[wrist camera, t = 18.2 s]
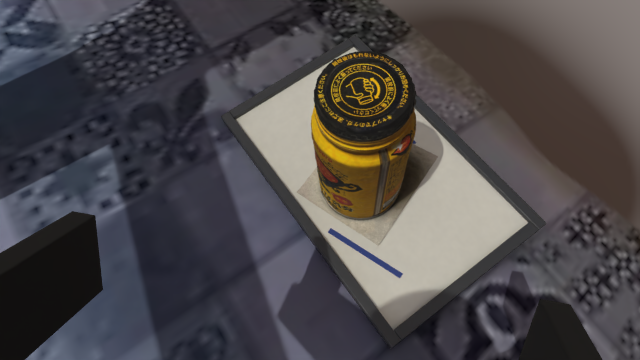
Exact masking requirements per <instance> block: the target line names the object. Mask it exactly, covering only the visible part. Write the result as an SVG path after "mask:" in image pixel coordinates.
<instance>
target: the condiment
mask: <svg viewBox="0 0 640 360" xmlns="http://www.w3.org/2000/svg"><path fill="white" fill-rule="evenodd" d="M415 97H416V91H415V86H414V84H413V82H412V78H411V77H410V75H409V74H408V72H407V71H406V69H405V68H404V66H403V65H402V64H400V63H399V62H398V61H396V60H395V59H393V58H390V57H389V56H387V55H385V54H381V53H377V52H374V51H360V52H352V53H349V54H346V55H344V56H341V57H339V58H337V59H334V60H333V61H332V62H331V63H329V64H328V65H327V66H326V68H324V69H323V70H322V73H321V74H320V75H319V77H318V78H317V82H316V87H315V89H314V98H313V99H314V103H315V104H314V109H313V113H312V116H311V130H312V132H311V135H312V140H313V144H314V150H315V159H316V163H317V167H316V168H315V170H314V171H313V172H312V174H311V175H310V176H309V177H308V178H307V180H306V181H305V183H304V184H303V185H302V186H301V187H300V189H299V190H298V191H297V193H298V194H300V195H301V196H303V197H304V198H306V199H307V200H309V201H310V202H312V203H313V204H315V205H316V206H318V207H319V208H321V209H322V210H324V211H325V212H327V213H328V214H330V215H331V216H333V217H334V218H336V219H338V220H339V221H341V222H342V223H344V224H345V225H347V226H348V227H350V228H351V229H353V230H355V231H356V232H358V233H360V234H361V235H363V236H364V237H366V238H367V239H369V240H370V241H372V242H373V243H375V244H376V245H379V244H380V242H381V241H382V239H383V238H384V237H385V235H386V234H387V232H388V231H389V229H390V228H391V226H392V225H393V223H394V222H395V220H396V219H397V217H398V216H399V214H400V213H401V212H402V210H403V208H404V207H405V206H406V204H407V202H408V201H409V199H410V198H411V196H412V195H413V193H414V192H415V190H416V189H417V188H418V186H419V185H420V183H421V182H422V180H423V179H424V177H425V176H426V174H427V173H428V171H429V170H430V168H431V167H432V165H433V164H434V162H435V161H436V159H437V158H438V156H436V155H434V154H432V153H431V152H428V151H426V150H424V149H422V148H420V147H418V146H416V145H415V144H413V141H414V137H415V132H416V114H415V112H414V111H415V109H414V106H415V105H416V102H417V101H416V99H415Z"/></svg>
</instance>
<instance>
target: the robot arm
mask: <svg viewBox="0 0 640 360" xmlns="http://www.w3.org/2000/svg"><path fill="white" fill-rule="evenodd" d="M102 290H103V286H102V277H101V267H100V258H99V248H98V239H97V229H96V220H95V215H90V214H84V213H79V212H74V211H72V212H71V213H69V214H67V215H66V216H64V217H62V218H60V219H59V220H57V221H55V222H53V223H52V224H50V225H48V226H46V227H45V228H43V229H41V230H40V231H38V232H36V233H34V234H33V235H31V236H29V237H27V238H26V239H24V240H22V241H20V242H19V243H17V244H15V245H14V246H12V247H10V248H8V249H7V250H5V251H3V252H1V253H0V360H25V359H26V358H27V357H28V356H29V355H30V354H31V353H33V352H34V351H35V350H36V349H37V348H38V347H39V346H40V345H42V344H43V343H44V342H45V341H46V340H47V339H48V338H49V337H50V336H52V335H53V334H54V333H55V332H56V331H57V330H58V329H59V328H61V327H62V326H63V325H64V324H65V323H66V322H67V321H68V320H69V319H71V318H72V317H73V316H74V315H75V314H76V313H77V312H78V311H80V310H81V309H82V308H83V307H84V306H85V305H86V304H87V303H88V302H90V301H91V300H92V299H93V298H94V297H95V296H96V295H97V294H99V293H100V292H101V291H102ZM519 360H602V358H601V356H600V355H599V353H598V351H597V350H596V348H595V346H594V344H593V343H592V341H591V339H590V338H589V336H588V334H587V332H586V331H585V329H584V327H583V326H582V324H581V322H580V320H579V319H578V317H577V315H576V314H575V312H574V310H573V308H572V307H571V305H569V304H564V303H559V302H553V301H548V300H543V299H540V301H539V303H538V306H537V309H536V312H535V315H534V318H533V320H532V323H531V326H530V329H529V332H528V335H527V337H526V340H525V343H524V346H523V349H522V352H521V354H520V357H519Z"/></svg>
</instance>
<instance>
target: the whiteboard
mask: <svg viewBox="0 0 640 360" xmlns="http://www.w3.org/2000/svg"><path fill="white" fill-rule="evenodd" d="M360 51H372V50H371V49H370V48H368V47H367V46H366V45H365V44H364V43H363V42H362V41H361V40H360V39H359V38H358V37H357V36H356V35H354V36H353V37H351V38H349V39H347V40H346V41H344V42H342V43H341V44H339V45H337V46H336V47H334V48H332V49H331V50H329V51H327V52H326V53H324V54H322V55H321V56H319V57H318V58H316V59H314V60H313V61H311V62H309V63H308V64H306V65H304V66H303V67H301V68H299V69H298V70H296V71H294V72H293V73H291V74H289V75H288V76H286V77H285V78H283V79H281V80H280V81H278V82H276V83H275V84H273V85H271V86H270V87H268V88H266V89H265V90H263V91H261V92H260V93H258V94H256V95H255V96H253V97H252V98H250V99H248V100H247V101H245V102H243V103H242V104H240V105H238V106H237V107H235V108H233V109H232V110H230V111H229V112H227V113H225V114H224V115H222V116H221V117H222V119H223V121H224V123H225V124H226V126H227V127H228V128H229V130H230V131H231V133H232V134H233V135H234V137H235V138H236V139H237V141H238V142H239V143H240V145H241V146H242V148H243V149H244V150H245V152H246V153H247V154H248V156H249V157H250V158H251V160H252V161H253V163H254V164H255V165H256V167H257V168H258V169H259V171H260V172H261V173H262V175H263V176H264V177H265V179H266V180H267V182H268V183H269V184H270V186H271V187H272V188H273V190H274V191H275V192H276V194H277V195H278V197H279V198H280V199H281V201H282V202H283V203H284V205H285V206H286V207H287V209H288V210H289V212H290V213H291V214H292V216H293V217H294V218H295V220H296V221H297V222H298V224H299V225H300V226H301V228H302V229H303V231H304V232H305V233H306V235H307V236H308V237H309V239H310V240H311V241H312V243H313V244H314V246H315V247H316V248H317V250H318V251H319V252H320V254H321V255H322V256H323V258H324V259H325V261H326V262H327V263H328V265H329V266H330V267H331V269H332V270H333V271H334V273H335V274H336V276H337V277H338V278H339V280H340V281H341V282H342V284H343V285H344V286H345V288H346V289H347V290H348V292H349V293H350V295H351V296H352V297H353V299H354V300H355V301H356V303H357V304H358V305H359V307H360V308H361V310H362V311H363V312H364V314H365V315H366V316H367V318H368V319H369V320H370V322H371V323H372V325H373V326H374V327H375V329H376V330H377V331H378V333H379V334H380V335H381V337H382V338H383V339H384V341H385V342H386V344H387V345H388V346H389V348H393V347H394V346H395V345H397V344H398V343H399V342H400V341H401V340H403V339H404V338H405V337H406V336H408V335H409V334H410V333H411V332H413V331H414V330H415V329H416V328H418V327H419V326H420V325H421V324H423V323H424V322H425V321H426V320H428V319H429V318H430V317H431V316H433V315H434V314H435V313H436V312H437V311H439V310H440V309H441V308H442V307H444V306H445V305H446V304H447V303H449V302H450V301H451V300H452V299H454V298H455V297H456V296H457V295H459V294H460V293H461V292H462V291H464V290H465V289H466V288H467V287H469V286H470V285H471V284H472V283H474V282H475V281H476V280H477V279H478V278H480V277H481V276H482V275H483V274H485V273H486V272H487V271H488V270H490V269H491V268H492V267H493V266H495V265H496V264H497V263H498V262H500V261H501V260H502V259H503V258H505V257H506V256H507V255H508V254H510V253H511V252H512V251H513V250H514V249H516V248H517V247H518V246H519V245H521V244H522V243H523V242H524V241H526V240H527V239H528V238H529V237H531V236H532V235H533V234H534V233H536V232H537V231H538V230H539V229H541V228H542V227H543V226H544V225H546V222H545V221H544V220H543V219H542V218H541V217H540V216H539V215H538V214H537V213H536V212H535V211H534V210H533V209H532V208H531V207H530V206H529V205H528V204H527V203H526V202H525V201H524V200H523V199H522V198H521V197H520V196H519V195H518V194H517V193H516V192H514V191H513V190H512V189H511V188H510V187H509V186H508V185H507V184H506V183H505V182H504V181H503V180H502V179H501V178H500V177H499V176H498V175H497V174H496V173H495V172H494V171H493V170H492V169H491V168H490V167H489V166H488V165H487V164H486V163H485V162H484V161H483V160H482V159H481V158H480V157H479V156H478V155H477V154H476V153H475V152H474V151H473V150H472V149H471V148H470V147H469V146H468V145H467V144H466V143H465V142H464V141H463V140H462V139H461V138H460V137H459V136H458V135H457V134H456V133H455V132H454V131H453V130H452V129H451V128H450V127H449V126H448V125H447V124H446V123H445V122H444V121H443V120H441V119H440V118H439V117H438V116H437V115H436V114H435V113H434V112H433V111H432V110H431V109H430V108H429V107H428V106H427V105H426V104H425V103H424V102H423V101H422V100H421V99H420V98H419V97H418V96H417V95H416V97H415V99H416V101H417V102H416V105H415V106H414V109H415V111H414V112H415V114H416V132H415V137H414V141H413V144H415V145H416V146H418V147H420V148H422V149H424V150H426V151H428V152H431V153H432V154H434V155H436V156H438V158H437V159H436V161H435V162H434V164H433V165H432V167H431V168H430V170H429V171H428V173H427V174H426V176H425V177H424V179H423V180H422V182H421V183H420V185H419V186H418V188H417V189H416V190H415V192H414V193H413V195H412V196H411V198H410V199H409V201H408V202H407V204H406V206H405V207H404V208H403V210H402V212H401V213H400V214H399V216H398V217H397V219H396V220H395V222H394V223H393V225H392V226H391V228H390V229H389V231H388V232H387V234H386V235H385V237H384V238H383V239H382V241H381V242H380V244H379V245H376V244H375V243H373V242H372V241H370V240H369V239H367V238H366V237H364V236H363V235H361V234H360V233H358V232H356V231H355V230H353V229H351V228H350V227H348V226H347V225H345V224H344V223H342V222H341V221H339V220H338V219H336V218H334V217H333V216H331V215H330V214H328V213H327V212H325V211H324V210H322V209H321V208H319V207H318V206H316V205H315V204H313V203H312V202H310V201H309V200H307V199H306V198H304V197H303V196H301V195H300V194H298V193H297V191H298V190H299V189H300V187H301V186H302V185H303V184H304V183H305V181H306V180H307V178H308V177H309V176H310V175H311V174H312V172H313V171H314V170H315V168H316V167H317V163H316V159H315V150H314V144H313V140H312V135H311V132H312V130H311V116H312V113H313V109H314V104H315V103H314V99H313V98H314V89H315V87H316V82H317V78H318V77H319V75H320V74H321V73H322V70H323V69H324V68H326V66H327V65H328V64H329V63H331V62H332V61H333V60H334V59H337V58H339V57H341V56H344V55H346V54H349V53H352V52H360Z"/></svg>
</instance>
